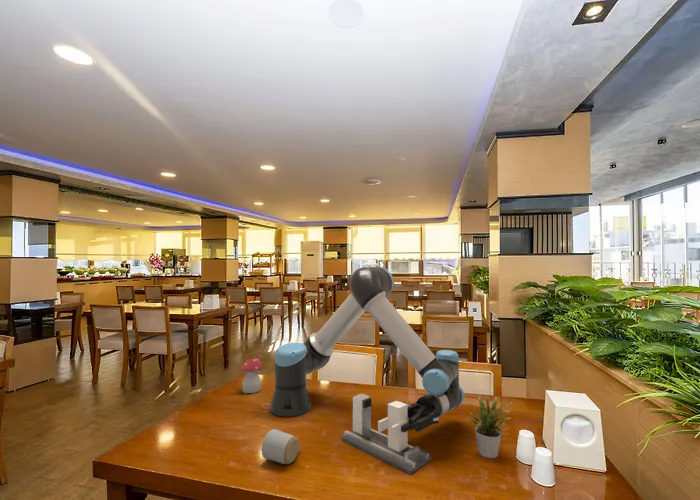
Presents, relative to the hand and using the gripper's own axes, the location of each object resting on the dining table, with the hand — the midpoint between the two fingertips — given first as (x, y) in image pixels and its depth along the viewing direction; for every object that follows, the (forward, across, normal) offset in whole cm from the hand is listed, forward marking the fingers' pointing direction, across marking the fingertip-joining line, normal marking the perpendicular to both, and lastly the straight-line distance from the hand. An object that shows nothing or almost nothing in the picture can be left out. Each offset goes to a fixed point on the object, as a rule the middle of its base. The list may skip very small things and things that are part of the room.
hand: (385, 429), depth 101 cm
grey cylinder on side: (+19, +22, -9) cm, 30 cm away
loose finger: (-5, 0, -7) cm, 9 cm away
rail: (-5, +5, -9) cm, 12 cm away
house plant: (-25, -19, -9) cm, 33 cm away
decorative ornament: (-2, +76, -9) cm, 77 cm away
